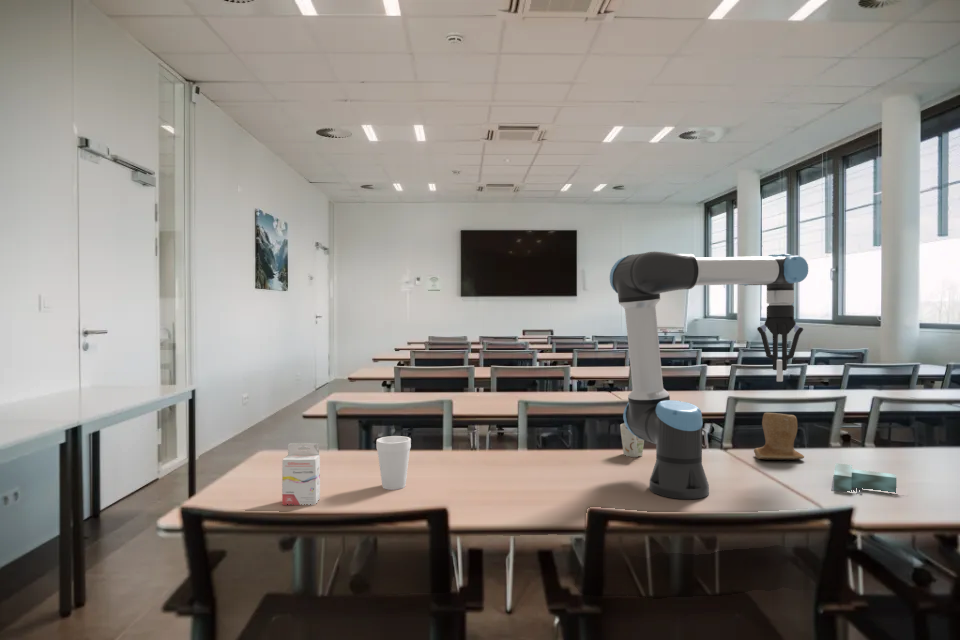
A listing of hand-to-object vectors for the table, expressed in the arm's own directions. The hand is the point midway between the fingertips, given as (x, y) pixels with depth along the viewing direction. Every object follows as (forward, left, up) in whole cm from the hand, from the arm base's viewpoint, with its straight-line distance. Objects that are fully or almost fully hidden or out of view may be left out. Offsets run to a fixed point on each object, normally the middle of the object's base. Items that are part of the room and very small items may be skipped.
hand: (779, 380), depth 184 cm
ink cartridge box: (-99, -102, -27) cm, 145 cm away
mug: (-42, -12, -27) cm, 51 cm away
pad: (+23, -12, -26) cm, 37 cm away
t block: (+22, -12, -26) cm, 36 cm away
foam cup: (-88, -79, -27) cm, 121 cm away
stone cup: (-2, +10, -27) cm, 29 cm away
